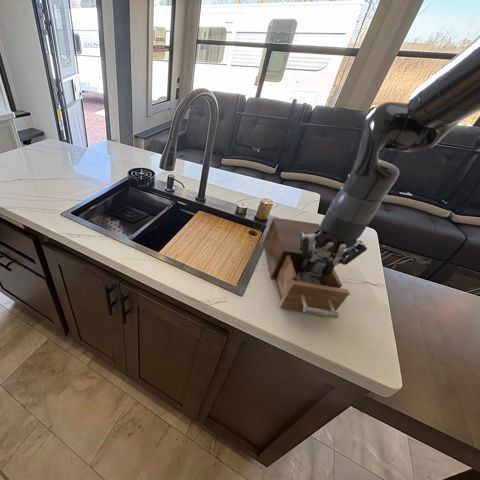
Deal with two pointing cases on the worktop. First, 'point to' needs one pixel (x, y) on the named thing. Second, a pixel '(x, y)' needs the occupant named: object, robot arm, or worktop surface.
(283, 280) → the open wooden drawer
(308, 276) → the dark grey chess piece
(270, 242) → the cabinet
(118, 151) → the worktop surface
